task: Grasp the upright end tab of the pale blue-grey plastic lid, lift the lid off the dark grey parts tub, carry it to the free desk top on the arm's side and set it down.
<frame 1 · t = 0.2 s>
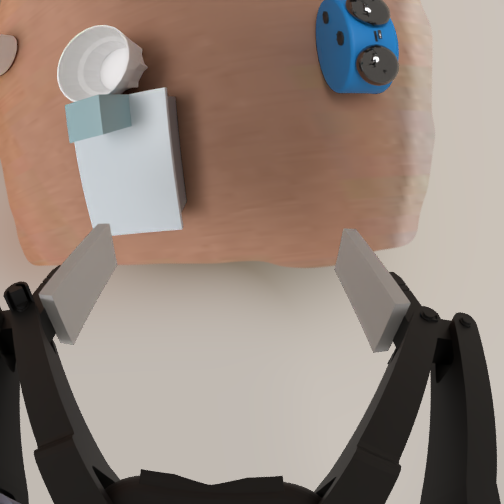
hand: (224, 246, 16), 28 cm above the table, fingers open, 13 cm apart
lid: (125, 166, 33), point 7 cm above the table, touching tub
cup: (121, 69, 32), on the table
alarm clock: (334, 52, 32), on the table
tub: (141, 155, 39), on the table
beverage can: (5, 55, 26), on the table
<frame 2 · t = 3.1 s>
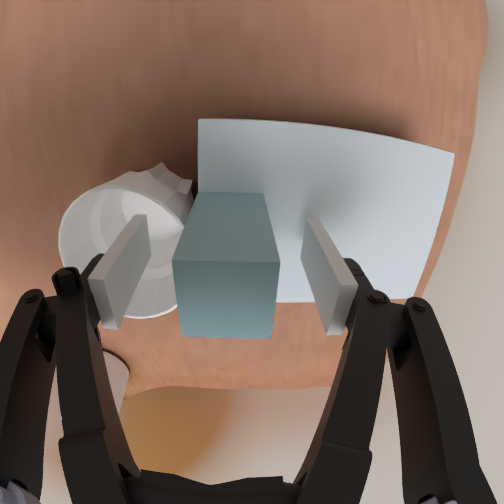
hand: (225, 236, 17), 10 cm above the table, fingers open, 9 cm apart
lid: (331, 220, 20), point 7 cm above the table, touching cup, tub
cup: (157, 204, 26), on the table, touching gripper, lid
beverage can: (106, 362, 38), on the table
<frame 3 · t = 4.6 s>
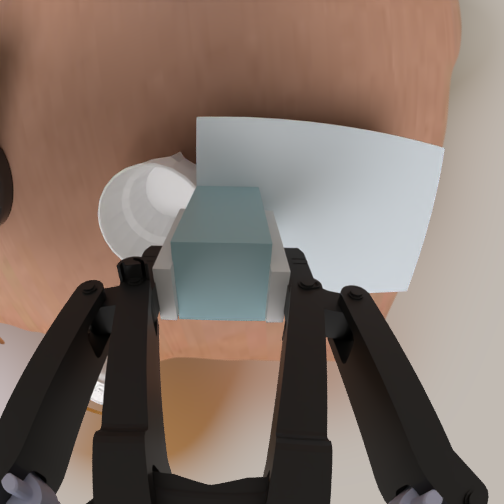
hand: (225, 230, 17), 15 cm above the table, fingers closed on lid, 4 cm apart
lid: (324, 213, 20), point 12 cm above the table, touching gripper
cup: (175, 187, 32), on the table
beverage can: (119, 335, 43), on the table
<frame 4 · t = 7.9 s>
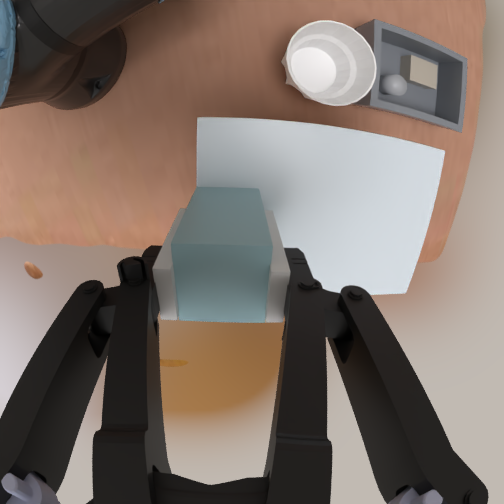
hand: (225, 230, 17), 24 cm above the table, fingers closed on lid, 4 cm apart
lid: (324, 215, 20), point 21 cm above the table, touching gripper
cup: (310, 70, 33), on the table
tub: (399, 77, 32), on the table
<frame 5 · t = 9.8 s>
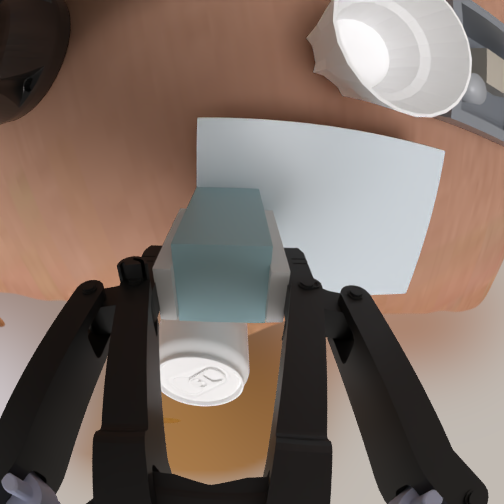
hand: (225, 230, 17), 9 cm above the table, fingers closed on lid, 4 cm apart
lid: (324, 215, 20), point 6 cm above the table, touching gripper
cup: (351, 54, 19), on the table
tub: (466, 77, 19), on the table
beverage can: (207, 290, 31), on the table
when the fingers open (4 cm above the table, at t = 11.4 s): lid drops 1 cm, on the table.
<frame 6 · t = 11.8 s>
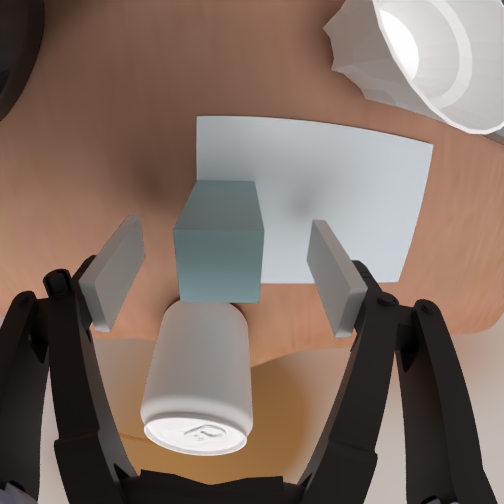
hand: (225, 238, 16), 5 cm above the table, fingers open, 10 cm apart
lid: (317, 206, 22), on the table
cup: (375, 49, 15), on the table
beverage can: (205, 323, 27), on the table
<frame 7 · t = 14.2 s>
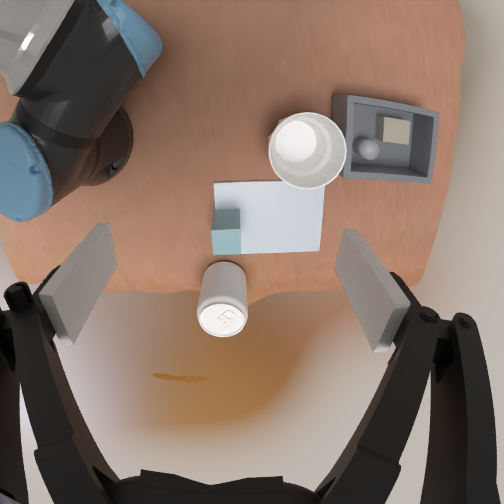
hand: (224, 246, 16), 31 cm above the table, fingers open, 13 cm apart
lid: (269, 216, 49), on the table
cup: (294, 141, 43), on the table
tub: (375, 135, 42), on the table
beverage can: (224, 277, 54), on the table
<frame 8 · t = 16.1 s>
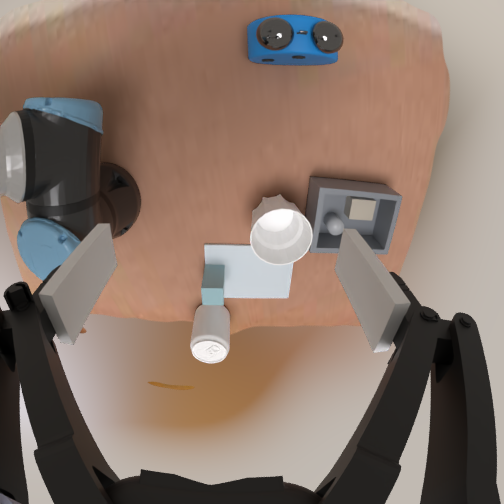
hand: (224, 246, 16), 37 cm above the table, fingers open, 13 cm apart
lid: (248, 270, 61), on the table
cup: (274, 214, 54), on the table
alarm clock: (285, 50, 39), on the table
tub: (345, 209, 54), on the table
beverage can: (212, 313, 66), on the table
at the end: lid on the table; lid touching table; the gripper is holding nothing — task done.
